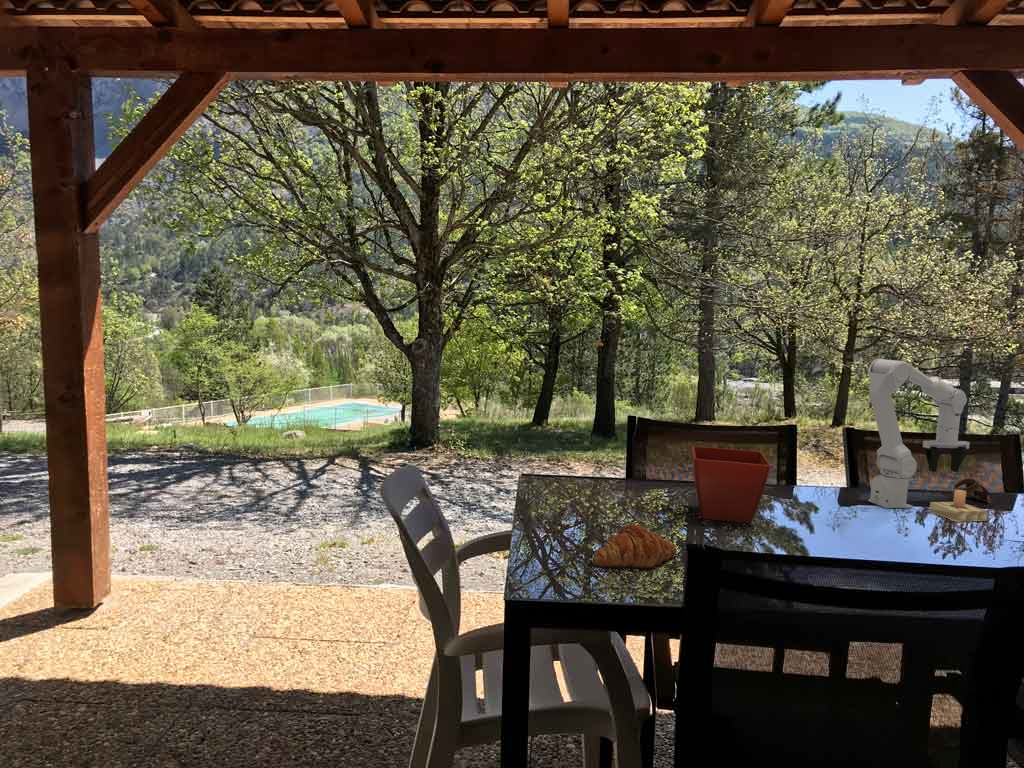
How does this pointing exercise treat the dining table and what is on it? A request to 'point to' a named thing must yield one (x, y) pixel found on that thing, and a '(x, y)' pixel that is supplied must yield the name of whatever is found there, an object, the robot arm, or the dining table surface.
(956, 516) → the bore block
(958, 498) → the pin
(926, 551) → the dining table surface
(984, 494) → the pottery mug
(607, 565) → the pastry
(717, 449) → the plant pot
